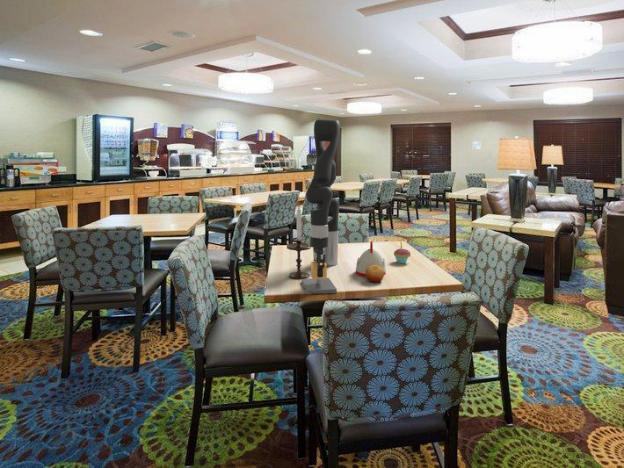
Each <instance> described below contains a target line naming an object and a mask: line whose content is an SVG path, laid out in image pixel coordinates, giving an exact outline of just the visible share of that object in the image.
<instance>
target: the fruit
mask: <svg viewBox="0 0 624 468" xmlns="http://www.w3.org/2000/svg"><path fill="white" fill-rule="evenodd" d="M366 276H367V277H366V278H367V280H368V281H369V282H370V283H378V282H379V283H380V282H382V281H383V280H384V277H385V276H384V271H383V268H381V267H380V266H378V265H372V266H369V267H368V268H367V269H366Z"/></svg>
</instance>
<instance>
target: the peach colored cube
mask: <svg viewBox="0 0 624 468" xmlns="http://www.w3.org/2000/svg"><path fill="white" fill-rule="evenodd" d="M320 265H322V263H320ZM327 270H328V266H327V264H326V263H325V267H324V268H323V277H318V276H317V263H316V262H314V261H311V262H310V276H311V279H312V278H313V279H327V278H328V276H327V274H328V273H327V272H328V271H327Z"/></svg>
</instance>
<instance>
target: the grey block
mask: <svg viewBox="0 0 624 468" xmlns="http://www.w3.org/2000/svg"><path fill="white" fill-rule="evenodd" d="M301 284H302V286H303V285H304V286H303V288H304V287H305V288H304V290H305V289H306V290H305V292H306V291H307V292H306V294H307V293H322V294H337V292H338V289H337V288H336V286H335V285H334V283H333V282H332V280H331V279H330V278H329V277H327V279H313V278H312V277H311V278H306V279H301Z"/></svg>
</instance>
